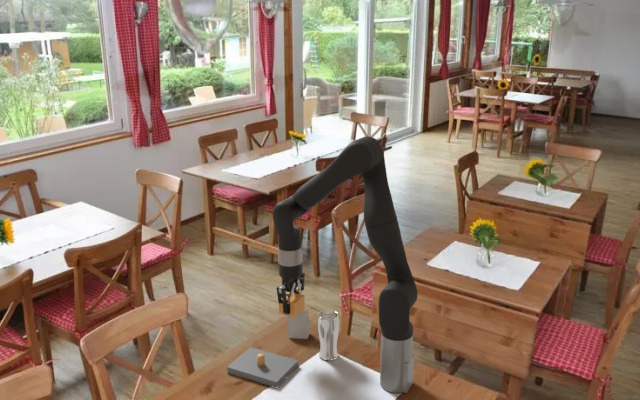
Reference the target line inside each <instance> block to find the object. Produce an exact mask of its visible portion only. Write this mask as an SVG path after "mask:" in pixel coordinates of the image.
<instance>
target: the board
mask: <svg viewBox="0 0 640 400" xmlns="http://www.w3.org/2000/svg"><path fill="white" fill-rule="evenodd" d="M298 367H299V360H298V359H294V358H290V357H287V356H284V355H280V354H276V353H273V352H269V351H266V350H261V349H259V348H254V347H249V348H248V349H246V350H245V351H244V352H243V353H241V355H240V356H238V357H237V358H235V360H234V361H232V362H231V363H230V364H229V365H228V366H227V367H226V369H227V374H230V375H233V376H237V377H240V378H243V379H246V380H250V381H254V382H256V383H259V384H263V385H267V386H269V387H272V386H273V387H272V388H275V387H277V388H279V386H281V384H282V383H283V382H285V380H287V378H288V377H289V376H290V375H292V373H293V372H294V371H295V370H296V369H297V368H298ZM286 377H287V378H286Z"/></svg>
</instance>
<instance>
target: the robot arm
mask: <svg viewBox="0 0 640 400" xmlns="http://www.w3.org/2000/svg"><path fill="white" fill-rule="evenodd" d="M359 175H361V178H362V180H363V186H364V202H363V203H364V204H363V222H364V227H365V230H366V231H365V232H366V233H367V238H368V241H369V243H370V245H371V247H372V249H374V252H375V253H376V254H377V255H378V256H379V258H380V259H381V262H383V266H384V269H385V274H386V278H387V285H386V286H385V287H384V288H383V289H382V290H381V292H380V293H379V297H378V324H379V327H380V329H381V330H380V332H381V333H380V364H379V365H380V369H379V370H380V371H379V372H380V374H379V375H380V376H379V384H380V386H381V387H382V389H384V390H385V391H387V392H390V393H395V394H399V393H404V394H407V393H408V392H409V390H410V389H411V387H412V385H413V384H414V376H415V375H414V372H415V371H414V370H415V355H414V354H413V343H414V340H413V339H414V325H413V323H412V322H411V321H410V310H411V309H412V307H414V305H415V304H416V302H417V300H418V294H419V293H418V288H417V285H416V282H415V280H414V276H413V274H412V271H411V269H410V268H411V267H410V266H409V262H408V259H407V254H406V250H405V246H404V241H403V238H402V234H401V229H400V225H399V221H398V216H397V214H396V209H395V206H394V202H393V197H392V194H391V190H390V185H389V181H388V176H387V167H386V161H385V153H384V150H383V147H382V145H381V143H380V142H379V141H378V139H376V138H375V137H373V136H363V137H359V138H358V139H356V140H353V141H351V142H349V143H348V145H347V146H346V147H345V148H344V149H343V150H342V151H341V152H340V153H339V154H338V156H337V157H336V158H335V159H334V160H333V161H332V162H331V163H330V164H329V165H328V166H326V167H325V168H324V169H322V170H321V171H320V172H319V173H317V174H316V175H314V176H313V177H312V178H310V179H309V180H308V181H307V182H305V183H304V184H302V185H301V186H299V188H297V190H296V191H295V193H294V194H292V195H291V196H289V197H288V198H285V199H283V200H282V201H279V202H277V203H276V204H274V205H275V206H274V207H273V209H272V220H273V223H274V227H275V231H276V233H277V238H278V239H277V240H278V241H277V243H278V249H277V251H278V252H277V263H278V275H279V276H280V278H282V282H281V285H280V286H278V285H277V287H276V294H277V301H278V304H279V303H280V304H283V313H284V314H290V299H291V297H292V296H293V293H296V294H301V295H302V292H303V291H305V281H306V280H305V276H306V275H305V272H303V271H304V270H303V251H302V236H301V230H300V229H299V228H298V227H296V226H294V222H295V221H296V220H298V219H300V218H301V217H303V215H305V214H306V213H308V211H310V210H311V209H312V208H314V207H315V206H317V205H318V204H319V203H321V202H322V201H324V200H325V199H326V198H327V197H328V196H329V195H331V194H332V193H333V192H334V191H335V190H336V189H337V188H338V187H339V186H340V185H341V184H343V183H345V182H346V181H348V180H350V179H353V178H354V177H357V176H359ZM287 292H290V293H289V294H287ZM286 296H288V298H286ZM281 298H282V300H281Z"/></svg>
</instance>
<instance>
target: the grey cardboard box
mask: <svg viewBox="0 0 640 400" xmlns="http://www.w3.org/2000/svg"><path fill="white" fill-rule="evenodd" d="M287 330H288V332H287V333H288V335H287V336H288V339H299V340H300V339H303V340H308V339H309V335H310V316H309V309H305V310H304V311H302V312H301V313H300V314H299V315H298V316H297V317H292V316H287Z"/></svg>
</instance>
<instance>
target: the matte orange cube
mask: <svg viewBox="0 0 640 400" xmlns="http://www.w3.org/2000/svg"><path fill="white" fill-rule="evenodd" d="M286 293H287V294H289V293H290V292H286ZM286 298H288V296H286ZM281 300H282V298H281ZM305 300H306V299H305V295H304V294H302V293H301V294H296V293H293V296H292V297H291V299H290V314H284V313H283V304H280V303H278V314H280V315H284V316H287V317H288V316H292V317H297V316H298V315H299V314H300V313H301V312H302V311H304V310H306V306H305Z"/></svg>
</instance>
